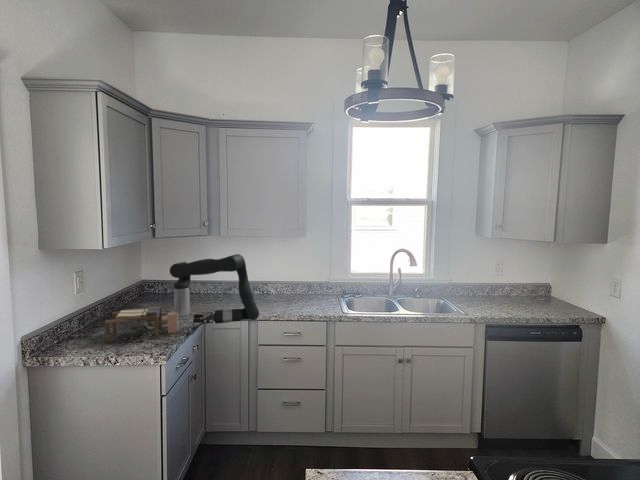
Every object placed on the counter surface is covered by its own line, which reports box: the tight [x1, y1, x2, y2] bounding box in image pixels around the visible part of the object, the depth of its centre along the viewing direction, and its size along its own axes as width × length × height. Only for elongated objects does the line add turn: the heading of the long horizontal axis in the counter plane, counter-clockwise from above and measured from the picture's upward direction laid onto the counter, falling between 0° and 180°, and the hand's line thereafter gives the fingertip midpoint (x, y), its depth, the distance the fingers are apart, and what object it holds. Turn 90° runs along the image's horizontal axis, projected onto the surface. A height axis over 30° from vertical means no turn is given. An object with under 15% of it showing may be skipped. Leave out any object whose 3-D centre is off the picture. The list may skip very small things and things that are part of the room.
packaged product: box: [143, 314, 182, 330], centre depth 212 cm, size 18×5×10 cm
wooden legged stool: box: [104, 307, 163, 345], centre depth 193 cm, size 17×24×12 cm
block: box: [166, 311, 179, 334], centre depth 199 cm, size 5×5×10 cm
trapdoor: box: [116, 305, 161, 323], centre depth 193 cm, size 13×19×4 cm
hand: (193, 318), depth 202 cm, fingers open, 8 cm apart
